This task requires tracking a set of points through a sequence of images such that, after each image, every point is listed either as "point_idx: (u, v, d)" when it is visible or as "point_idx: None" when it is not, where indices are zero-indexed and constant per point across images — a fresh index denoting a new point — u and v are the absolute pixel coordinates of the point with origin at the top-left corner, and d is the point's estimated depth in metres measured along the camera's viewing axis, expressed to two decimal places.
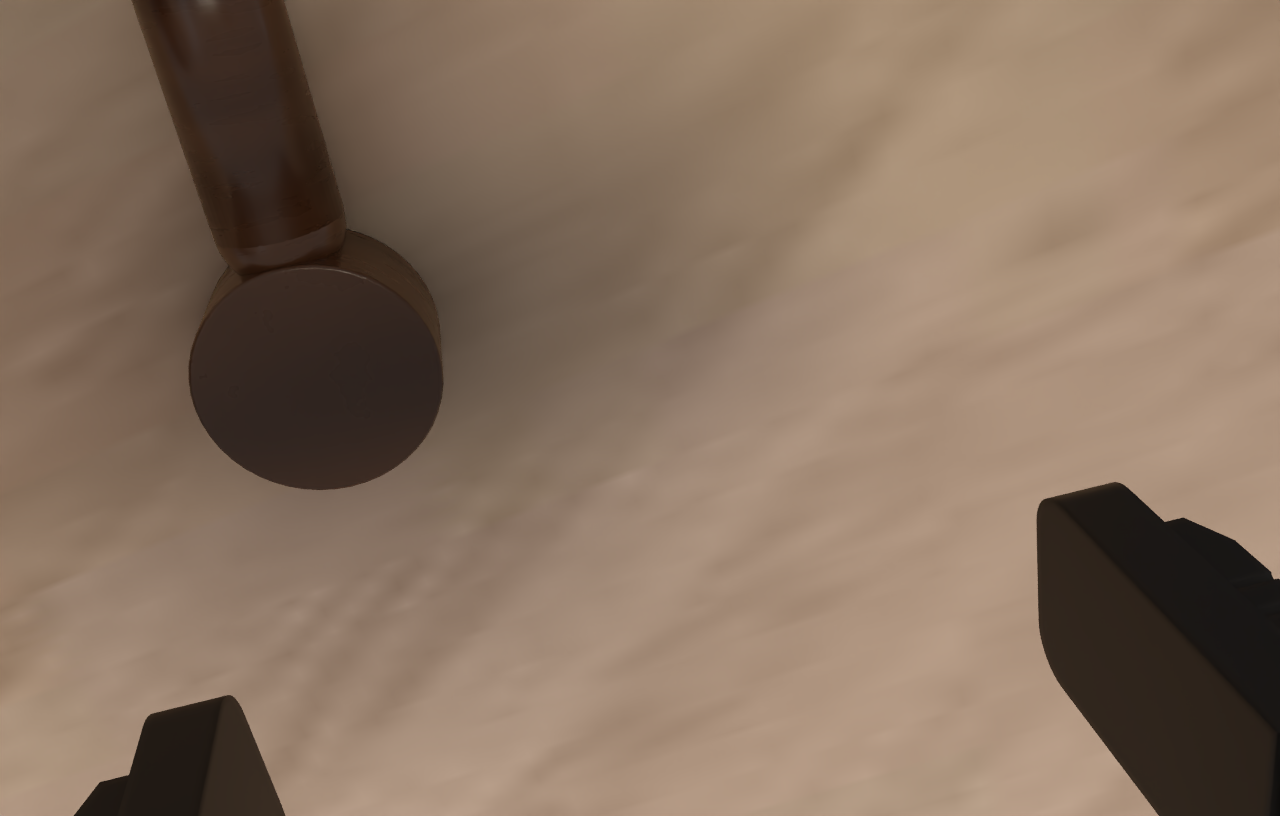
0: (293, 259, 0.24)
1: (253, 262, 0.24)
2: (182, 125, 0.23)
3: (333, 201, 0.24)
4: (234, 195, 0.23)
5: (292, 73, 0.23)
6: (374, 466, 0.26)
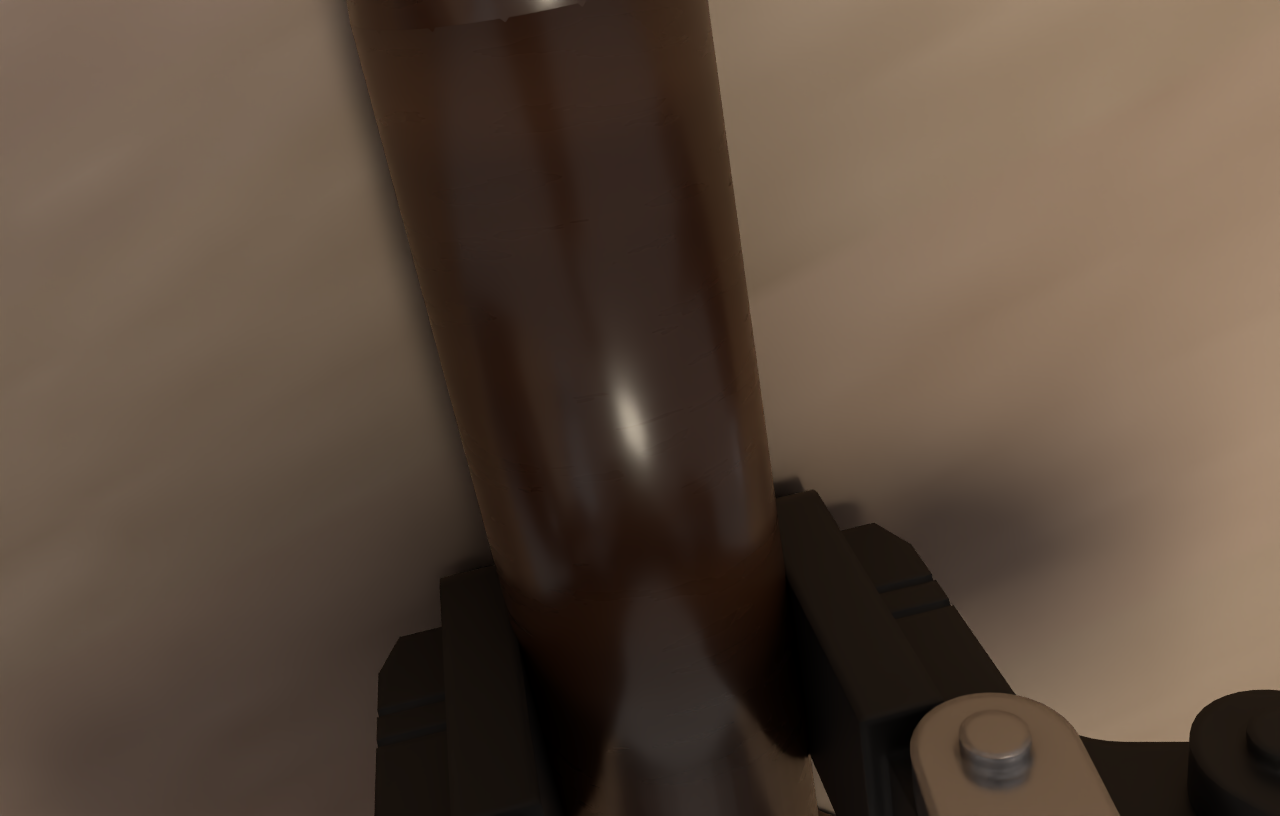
0: None
1: None
2: (573, 765, 0.11)
3: None
4: None
5: (791, 651, 0.11)
6: None
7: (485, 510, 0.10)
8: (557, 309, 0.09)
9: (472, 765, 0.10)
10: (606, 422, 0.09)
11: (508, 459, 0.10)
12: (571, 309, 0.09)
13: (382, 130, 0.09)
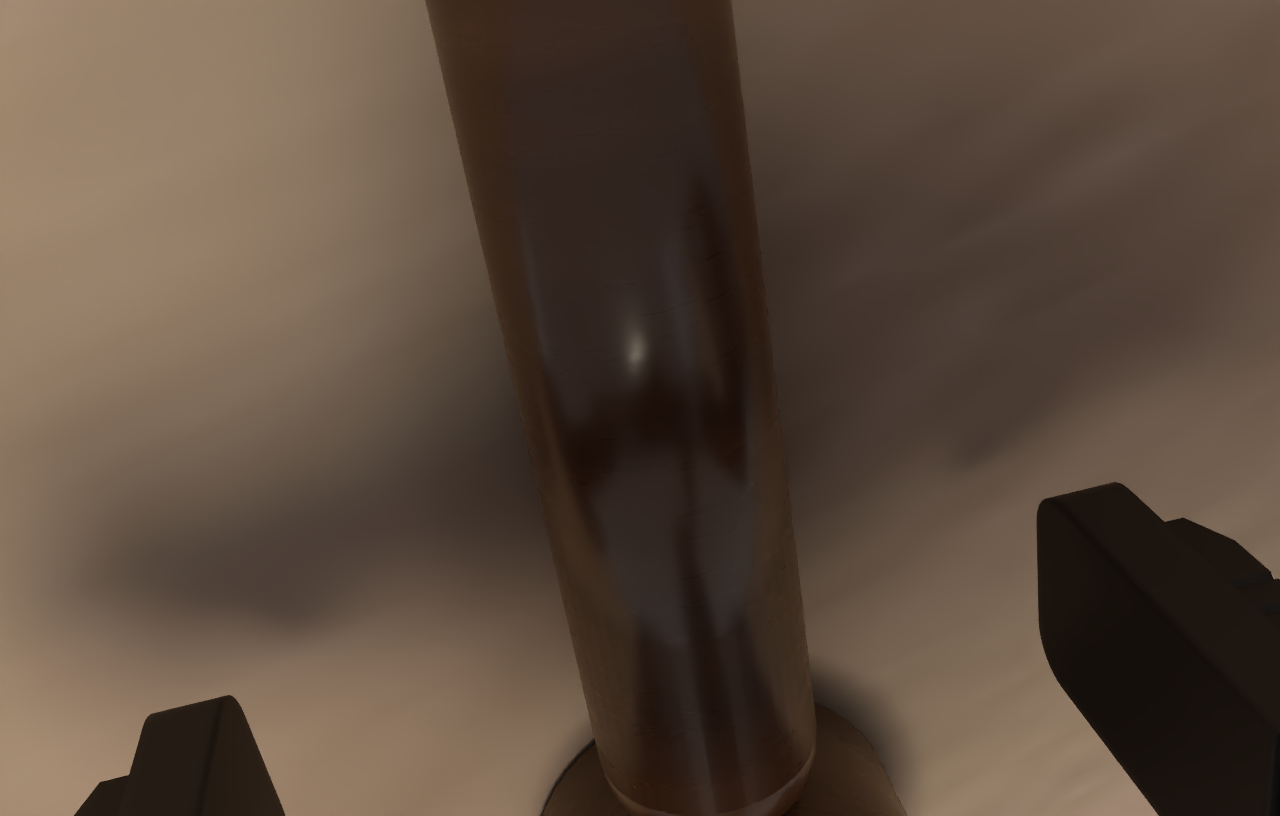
0: None
1: None
2: (596, 629, 0.13)
3: (813, 711, 0.14)
4: (677, 742, 0.13)
5: (789, 532, 0.13)
6: None
7: (522, 396, 0.12)
8: (591, 206, 0.10)
9: None
10: (633, 310, 0.11)
11: (545, 344, 0.11)
12: (603, 207, 0.10)
13: (442, 52, 0.10)
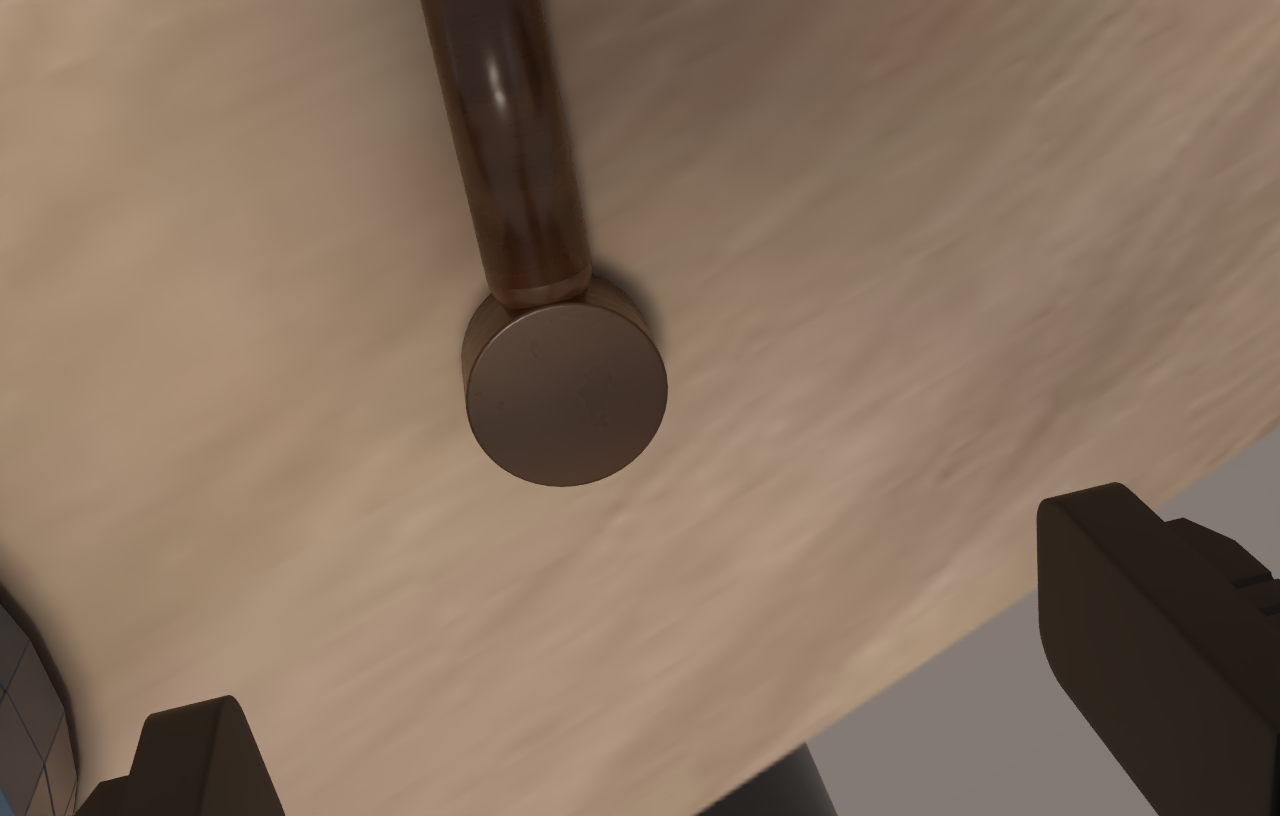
0: (558, 298, 0.29)
1: (525, 300, 0.29)
2: (477, 191, 0.28)
3: (587, 250, 0.29)
4: (516, 247, 0.28)
5: (565, 148, 0.28)
6: (606, 467, 0.31)
7: (441, 76, 0.27)
8: None
9: None
10: (482, 26, 0.26)
11: (448, 45, 0.26)
12: None
13: None
